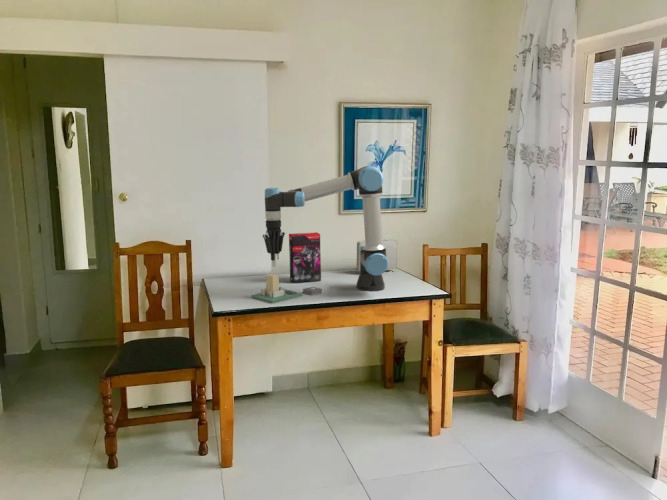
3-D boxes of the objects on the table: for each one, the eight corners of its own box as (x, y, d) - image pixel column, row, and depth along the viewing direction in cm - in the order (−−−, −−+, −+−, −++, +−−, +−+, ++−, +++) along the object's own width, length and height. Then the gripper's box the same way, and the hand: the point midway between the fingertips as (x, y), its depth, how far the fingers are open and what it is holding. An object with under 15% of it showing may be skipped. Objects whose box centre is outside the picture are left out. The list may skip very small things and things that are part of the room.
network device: (360, 275, 316) (361, 242, 313) (354, 273, 324) (354, 240, 321) (398, 272, 326) (399, 240, 323) (391, 269, 334) (392, 238, 331)
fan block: (322, 292, 276) (322, 288, 275) (312, 295, 271) (312, 290, 270) (312, 290, 281) (312, 285, 280) (302, 292, 275) (302, 288, 275)
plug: (279, 294, 266) (278, 275, 265) (272, 296, 263) (272, 276, 262) (271, 292, 270) (271, 273, 268) (265, 294, 267) (265, 274, 265)
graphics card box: (292, 283, 296) (291, 235, 291) (288, 281, 302) (288, 233, 298) (321, 281, 302) (321, 233, 297) (317, 278, 308) (317, 232, 304)
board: (302, 295, 269) (302, 288, 269) (272, 303, 255) (272, 295, 254) (281, 290, 280) (281, 283, 279) (251, 297, 265) (251, 290, 265)
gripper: (278, 217, 270) (279, 263, 274) (258, 220, 260) (260, 267, 264) (288, 218, 265) (289, 265, 269) (268, 221, 255) (270, 269, 259)
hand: (275, 266), depth 267 cm, fingers closed
